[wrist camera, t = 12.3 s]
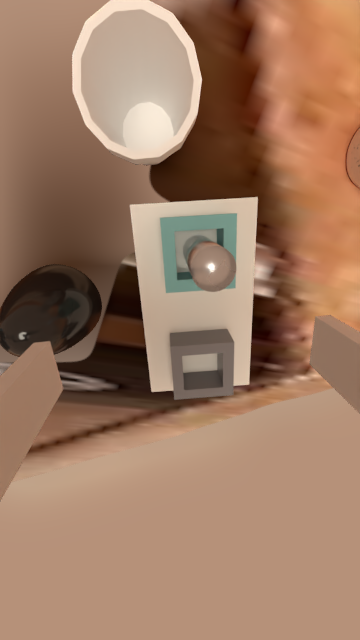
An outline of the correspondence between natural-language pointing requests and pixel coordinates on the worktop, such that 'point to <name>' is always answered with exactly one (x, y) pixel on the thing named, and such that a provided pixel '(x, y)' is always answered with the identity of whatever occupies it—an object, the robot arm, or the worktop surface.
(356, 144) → the teacup with lid
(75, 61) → the foam cup
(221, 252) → the lock pin
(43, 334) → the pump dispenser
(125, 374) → the worktop surface
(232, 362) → the mount board
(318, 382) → the worktop surface
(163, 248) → the socket
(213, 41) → the worktop surface
